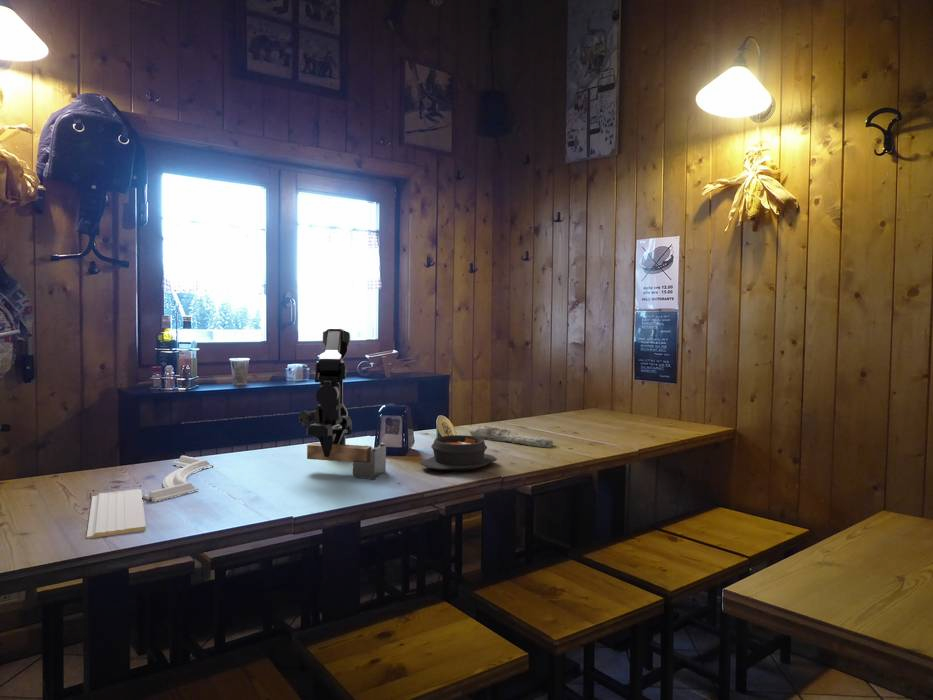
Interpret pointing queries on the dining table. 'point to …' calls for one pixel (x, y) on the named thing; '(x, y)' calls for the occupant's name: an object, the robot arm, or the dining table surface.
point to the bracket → (371, 464)
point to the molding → (178, 479)
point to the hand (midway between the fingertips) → (329, 455)
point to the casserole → (458, 453)
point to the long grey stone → (510, 436)
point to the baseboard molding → (116, 513)
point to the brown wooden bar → (340, 452)
